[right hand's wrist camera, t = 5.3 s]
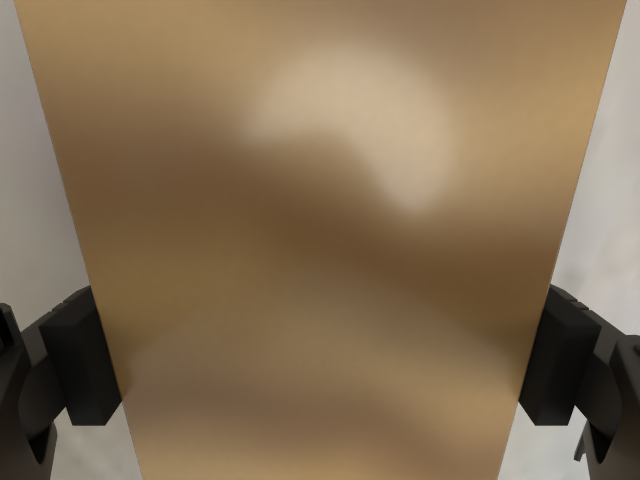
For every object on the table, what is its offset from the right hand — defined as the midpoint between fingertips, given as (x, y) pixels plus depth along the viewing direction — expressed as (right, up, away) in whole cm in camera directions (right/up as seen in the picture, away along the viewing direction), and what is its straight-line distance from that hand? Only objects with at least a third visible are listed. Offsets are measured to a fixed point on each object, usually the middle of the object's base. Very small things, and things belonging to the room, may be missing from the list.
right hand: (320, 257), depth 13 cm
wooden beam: (0, -27, +11) cm, 29 cm away
